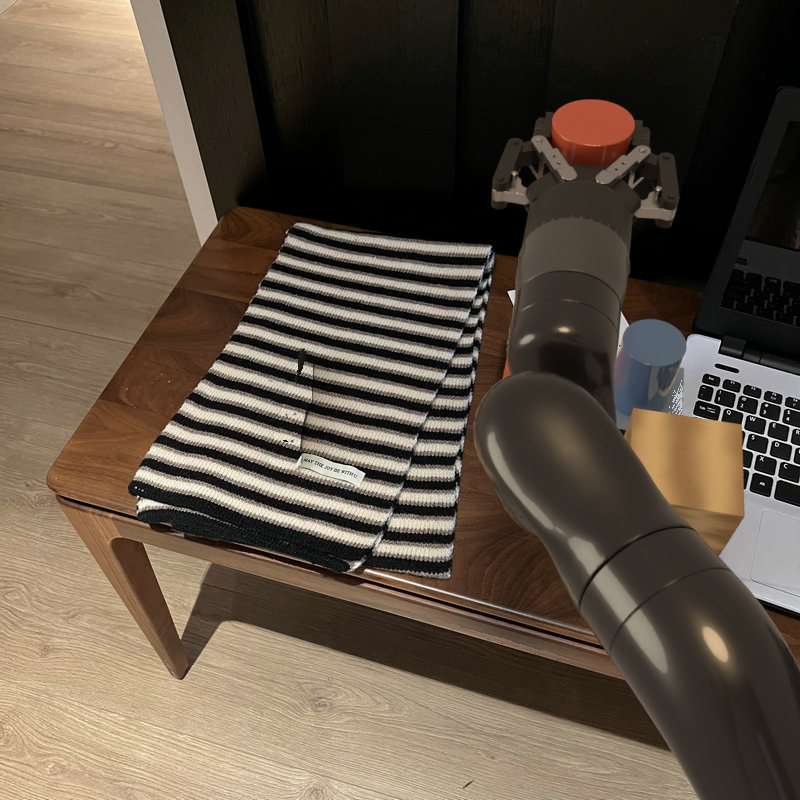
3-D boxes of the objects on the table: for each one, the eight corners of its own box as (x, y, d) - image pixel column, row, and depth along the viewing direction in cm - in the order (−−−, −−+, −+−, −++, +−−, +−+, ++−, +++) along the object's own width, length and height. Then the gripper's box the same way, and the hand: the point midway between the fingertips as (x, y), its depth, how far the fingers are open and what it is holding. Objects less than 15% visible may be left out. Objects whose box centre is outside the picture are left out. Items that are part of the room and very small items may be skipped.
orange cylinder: (619, 196, 69) (639, 104, 62) (609, 242, 66) (629, 150, 59) (548, 185, 71) (559, 94, 64) (534, 230, 67) (545, 139, 60)
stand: (693, 515, 79) (742, 424, 66) (692, 597, 73) (744, 516, 61) (603, 499, 80) (633, 407, 67) (596, 578, 75) (627, 496, 62)
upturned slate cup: (667, 377, 88) (687, 323, 81) (665, 422, 84) (686, 370, 77) (609, 368, 89) (624, 315, 82) (605, 413, 85) (620, 360, 78)
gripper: (470, 288, 59) (503, 155, 68) (666, 314, 56) (671, 172, 66) (473, 208, 53) (508, 75, 62) (693, 234, 50) (694, 91, 60)
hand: (592, 126), depth 64 cm, fingers closed on orange cylinder, 6 cm apart
